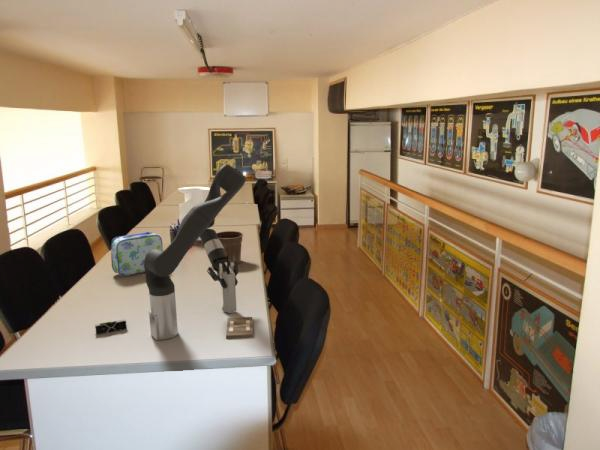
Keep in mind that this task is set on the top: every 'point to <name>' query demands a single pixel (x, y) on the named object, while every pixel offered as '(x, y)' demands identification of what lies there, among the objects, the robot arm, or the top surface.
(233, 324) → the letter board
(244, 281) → the top surface
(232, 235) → the plant pot
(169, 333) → the robot arm
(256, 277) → the top surface
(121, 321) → the graphics card
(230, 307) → the vintage mobile phone
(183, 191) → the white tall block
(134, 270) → the lunch box
